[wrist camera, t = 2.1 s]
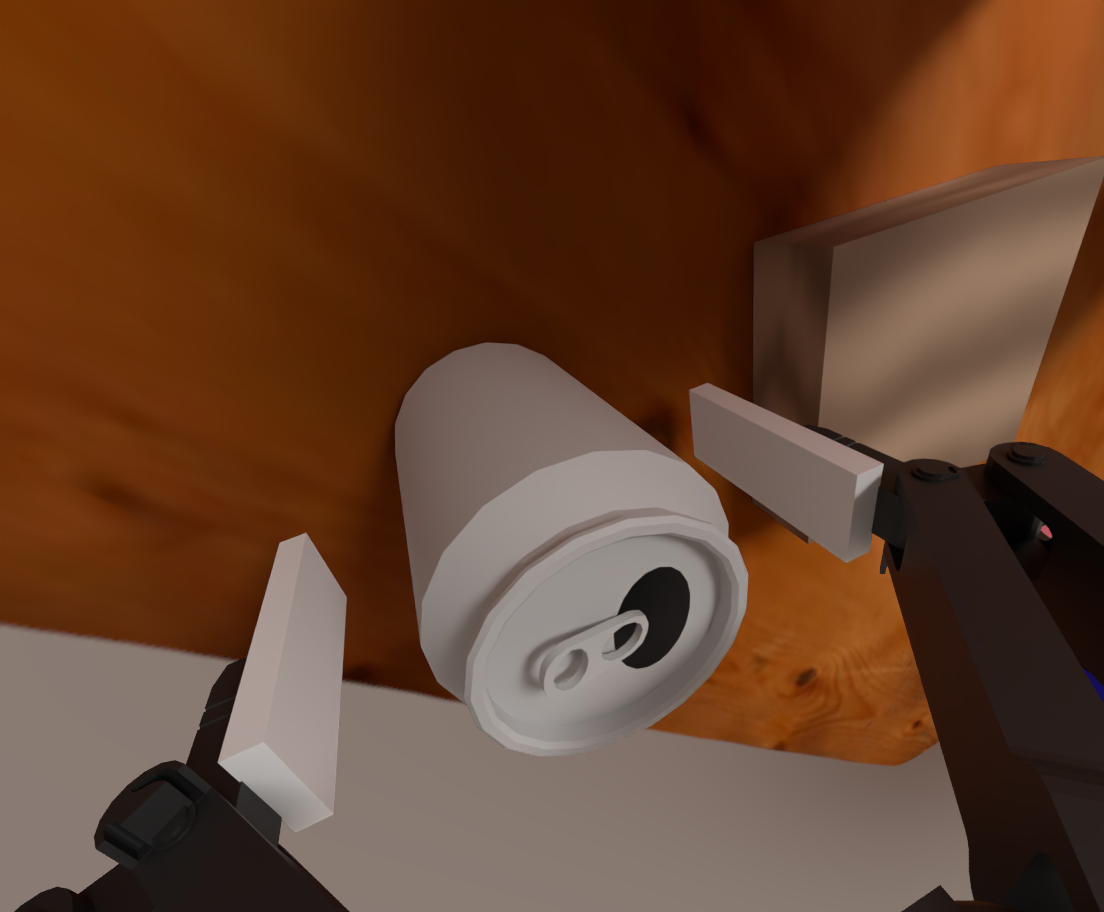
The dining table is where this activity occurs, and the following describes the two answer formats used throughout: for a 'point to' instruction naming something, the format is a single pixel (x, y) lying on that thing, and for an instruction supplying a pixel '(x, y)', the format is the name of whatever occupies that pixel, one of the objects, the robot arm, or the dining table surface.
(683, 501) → the can
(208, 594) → the dining table surface
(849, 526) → the robot arm
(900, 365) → the plinth
